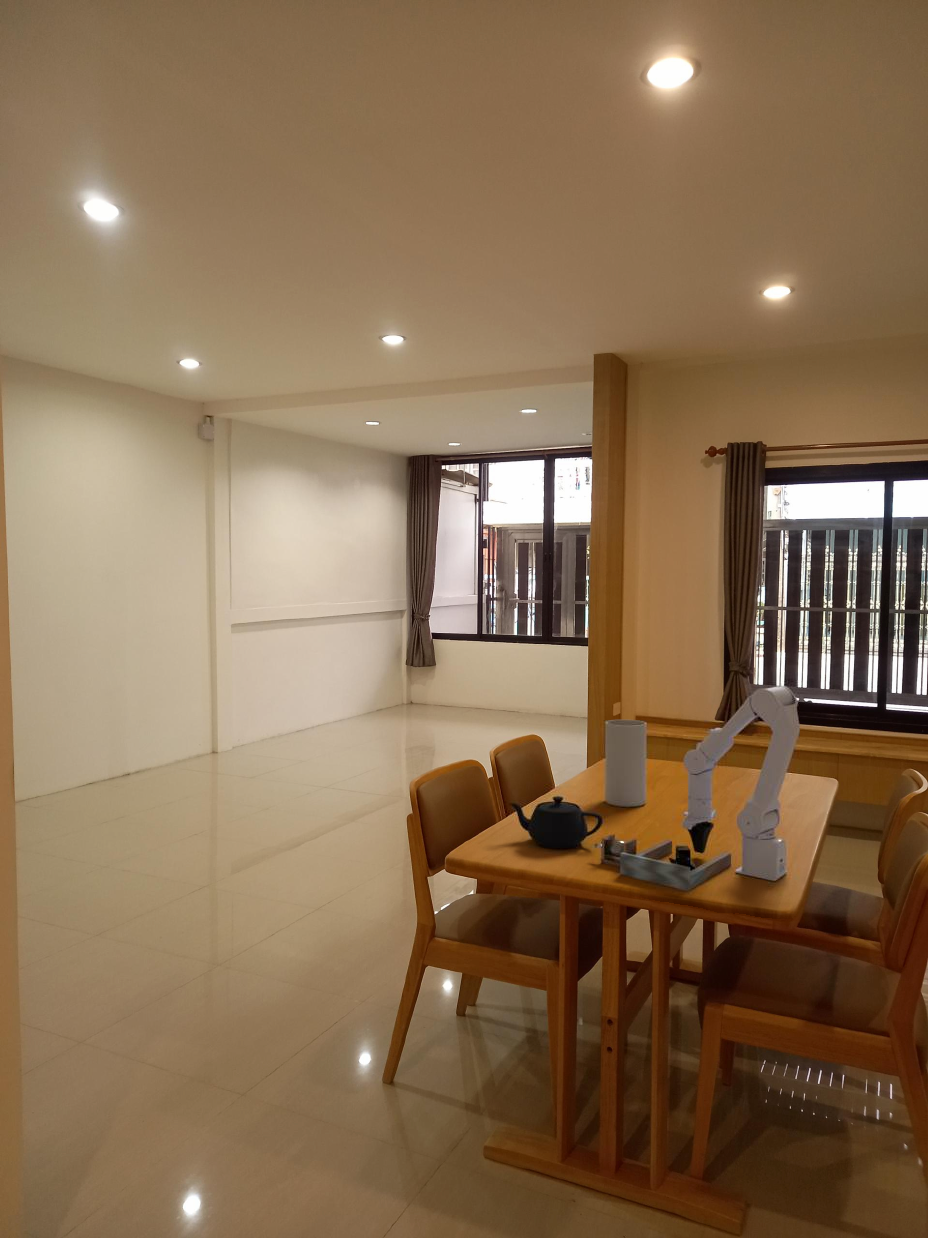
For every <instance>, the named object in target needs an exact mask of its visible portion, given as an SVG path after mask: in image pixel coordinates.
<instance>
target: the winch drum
mask: <svg viewBox="0 0 928 1238" xmlns="http://www.w3.org/2000/svg"><path fill="white" fill-rule="evenodd" d="M600 841H601V844H600V843H594V848H596V849H600V851H601V852H600V853H601V855H600V856H601V857H600V863H601V864H605V865H608V866H613V867H618V868H620V858H621V853H622V852H623V853H628V854H632V855H636V854H637V838H631V839H629V840H628V841H627V840H626V841H623V840H619V839H616V834H614V833H610V834H609V835H607V836H604V837H602V838H601V839H600Z"/></svg>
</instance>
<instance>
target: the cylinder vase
mask: <svg viewBox="0 0 928 1238" xmlns="http://www.w3.org/2000/svg"><path fill="white" fill-rule="evenodd" d="M604 725H605V726H604V727H605V731H604V733H605V735H604V737H605V738H604V739H605V743H604V745H605V746H604V748H605V751H604V752H605V753H604V757H605V758H604V760H605V761H604V762H605V763H604V765H605V766H604V773H605V774H604V796H605V797H604V800H605V802H606V804H608V805H611V806H614V807H619V808H620V807H622V808H635V807H641V806H644V805H645V804H647V803H646V802H647V722H645V721H643V720H636V719H611V720H606V721H605V724H604Z"/></svg>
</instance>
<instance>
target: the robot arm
mask: <svg viewBox="0 0 928 1238" xmlns="http://www.w3.org/2000/svg"><path fill="white" fill-rule="evenodd" d="M798 704H799V700H798V699H797V697H796V696H795V694H794V693H793V691H792V690H791V689H790V688H789V687H787V686H785V685H777V686H774V687H768V688H758V689H757V690H755V691H754V692H753V693H752V694H751V695H750V696H749V697H747V698H746V699H745V701H744V702H743V704H741V706H740V707H739V708H738V710H737V711H736V712H735V713H734V714H733V715H732V716H731V717H730V718H729V720H728V721H727V722H726V723H725V725H723V727H722V728H721V727H715V728H714V729H713V728H711V729H709V730H708V731H707V736H706V737H705V738H704V739H703V740H702V741H701V742H697V744H696V745H695V747H696V748H695V749H690V750H688V751H686V753H685V755H684V757H683V766H684V768H685V770H686V771H687V811H685V812H683V816H684V817H685V818H684V819H683V820H682V829H684V830H687V832H688V834H689V837H690V840H691V843H692V847H693V848H692V849H693V851H694V852H695V853H698V854H699V853H700V854H704V853H705V851H706V847H707V845H708V844H707V843H708V839H709V836H710V835H711V832H712V830H713V828H714V827H715V826H714V823H713V822H710V821H712V820H713V819H715V818H717V809H712V808H713V796H712V795H713V772H714V770H715V768H716V767H717V765H718V761H719V760H720V759H721V758H722V757H723V756H724V755H725V754H726V753H727V752H728V751H729V750H730V749H731V748H732V747H733V746H734V737H736V736H737V735H738V734H739V733H740V732H741V731H742V730H743V729H744V728H746V727H747V726H748V725H749V724H750V723H751V722H752V721H754V719H755V718H757V717H759V718H760V719H762V720H763V721H764V723H766V724H767V726H768V727H769V728H770V729H771V731H772V735H771V738H770V741H769V745H768V748H767V751H766V753H765V757H764V760H763V763H762V765H761V770H760V772H759V774H758V775H759V776H758V779H757V782H756V785H755V789H754V791H753V794H752V795H751V796H750V798H749V799H748V800H747V801H746V802H745V805H744V807H743V809H742V810H741V811H740V812H739V813H738V815H737V816H736V825H737V828H738V829H739V831H740V832H741V866H740V867H738V868H737V869H735V871H734V872H735V873H737V874H741V875H745V876H750V877H753V878H759V879H763V880H768V881H773V882H775V881H777V880H779V879H780V878H781V877H784V875H786V874H787V873H788V870H787V844H786V840H783V839H782V838H780V837H776V836H775V835H776V834H775V833H776V832H775V830H776V828H777V827H778V826H779V825H780V821H781V817H780V816H781V814H780V808H781V803H780V802H779V800H778V799H779V797H780V793H781V790H782V787H783V784H784V781H785V777H786V775H787V771H788V768H789V765H790V762H791V759H792V756H793V753H794V750H795V746H796V744H797V741H798V739H799V738H798V737H799V734H800V731H801V730H800V729H801V728H800V721H799V715H798V708H797V707H798Z"/></svg>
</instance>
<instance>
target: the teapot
mask: <svg viewBox="0 0 928 1238" xmlns="http://www.w3.org/2000/svg"><path fill="white" fill-rule="evenodd" d="M563 800H564V797H563V796H559V795H558V796H556V795H555V796H553V797H552V801H543V802H540V803H538V804H536V806H535V807H534V810H533V811H532V813H531V816H530V818H528V817H526V816H525V814H524V811H523V809H522V807H521V806H520V804H518V803H514V802H513V803H511V802H508V805H510V806H511V807H512V808H514V810H515V812H516V815H517V818H518V821H519V825H520V826H521V828H522V829H524V830H525V831H526V832H528V834H529V836H530V838H531V839H532V840H533V841H534V842H535V843H536V844H537V845H539V846H542V847H544V848H549V849H558V850H560V849H571V848H574V847H577V846H580V844H581V843H582V842H583V841H584V840H585V839H587V837H590V836H591V835H593V834H595V833H596V832H598V831H599V830H600V828H601V827H602V826H603V823H604V821H603V820H604V819H603V816H602V815H601V814H600V813H596V812H589V811H582V809H581V807H580V806H579V805H578V804H576V803H573V802H568V801H563ZM585 817H593V818H596V819H597V822H596V825H595V826H594V827H593V829H591V830H589V827H588V824H587V821H586V818H585Z"/></svg>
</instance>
